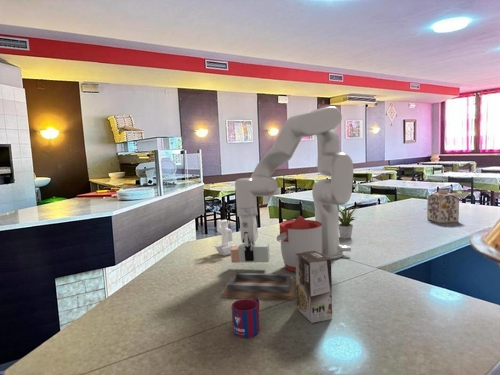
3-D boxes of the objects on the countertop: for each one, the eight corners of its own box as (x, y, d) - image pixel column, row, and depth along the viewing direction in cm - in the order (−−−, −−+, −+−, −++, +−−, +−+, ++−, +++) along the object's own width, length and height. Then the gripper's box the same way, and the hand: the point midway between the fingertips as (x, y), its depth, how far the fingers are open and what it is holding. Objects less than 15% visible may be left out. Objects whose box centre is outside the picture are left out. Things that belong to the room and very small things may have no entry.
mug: (227, 333, 83) (226, 306, 83) (251, 316, 91) (250, 292, 91) (249, 341, 79) (247, 313, 79) (271, 322, 87) (271, 297, 87)
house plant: (351, 232, 177) (350, 201, 175) (368, 238, 164) (367, 205, 162) (327, 235, 173) (326, 203, 171) (342, 241, 160) (342, 207, 158)
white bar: (269, 258, 128) (268, 243, 128) (268, 262, 125) (267, 246, 124) (234, 258, 131) (232, 244, 130) (231, 262, 127) (230, 247, 126)
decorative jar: (426, 219, 199) (427, 189, 198) (444, 218, 201) (445, 188, 199) (440, 223, 188) (440, 191, 186) (459, 222, 189) (460, 190, 187)
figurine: (224, 257, 143) (223, 223, 141) (213, 253, 150) (211, 220, 149) (238, 253, 147) (236, 220, 146) (226, 249, 155) (224, 217, 153)
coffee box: (333, 319, 88) (332, 259, 86) (311, 323, 86) (309, 262, 84) (316, 304, 96) (315, 249, 95) (296, 308, 95) (294, 252, 93)
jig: (295, 281, 114) (295, 272, 113) (293, 299, 100) (293, 289, 100) (232, 279, 118) (231, 270, 117) (221, 297, 104) (221, 287, 104)
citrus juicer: (269, 266, 130) (267, 215, 128) (307, 258, 137) (306, 210, 135) (289, 279, 116) (288, 222, 114) (331, 270, 123) (330, 216, 120)
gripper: (253, 215, 117) (256, 266, 119) (260, 206, 133) (263, 251, 135) (232, 216, 118) (236, 266, 120) (241, 207, 134) (245, 251, 137)
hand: (250, 258), depth 128 cm, fingers closed on white bar, 4 cm apart
